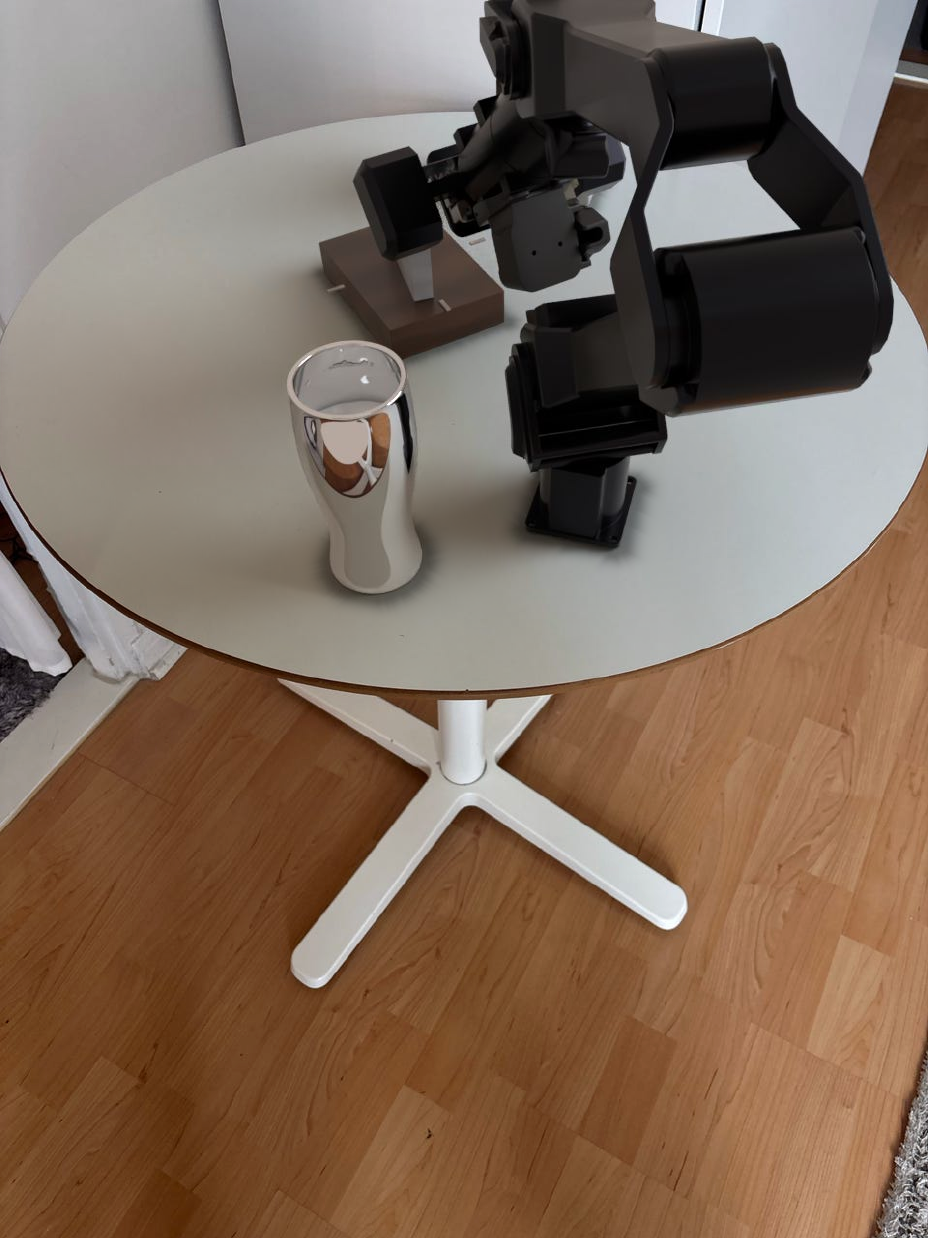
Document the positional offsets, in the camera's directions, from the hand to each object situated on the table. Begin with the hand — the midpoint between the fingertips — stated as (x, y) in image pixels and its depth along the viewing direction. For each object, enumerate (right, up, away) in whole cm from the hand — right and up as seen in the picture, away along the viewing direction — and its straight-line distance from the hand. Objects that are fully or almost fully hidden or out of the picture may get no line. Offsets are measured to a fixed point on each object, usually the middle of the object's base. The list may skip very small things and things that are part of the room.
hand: (457, 215), depth 75 cm
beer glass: (-5, -27, -10) cm, 29 cm away
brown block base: (-4, -4, +8) cm, 9 cm away
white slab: (-4, -2, +5) cm, 7 cm away
